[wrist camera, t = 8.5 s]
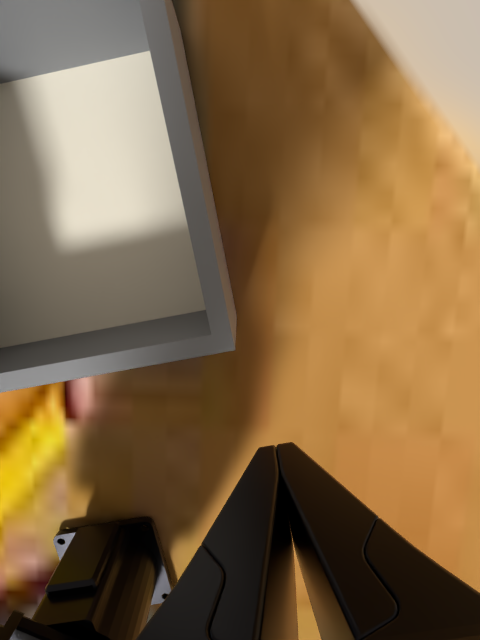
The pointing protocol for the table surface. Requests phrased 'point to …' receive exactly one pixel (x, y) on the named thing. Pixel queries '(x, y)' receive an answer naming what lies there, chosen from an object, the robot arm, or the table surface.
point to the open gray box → (103, 196)
